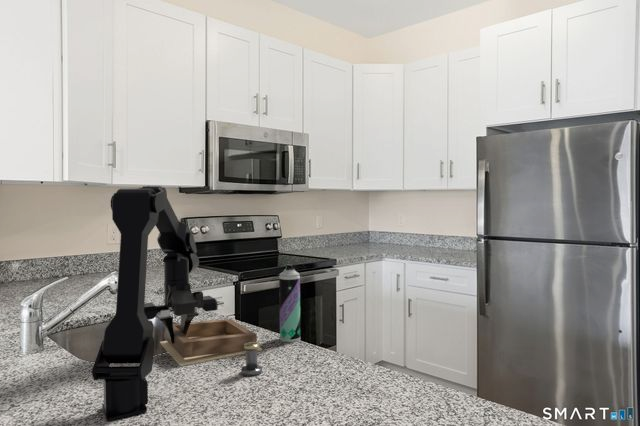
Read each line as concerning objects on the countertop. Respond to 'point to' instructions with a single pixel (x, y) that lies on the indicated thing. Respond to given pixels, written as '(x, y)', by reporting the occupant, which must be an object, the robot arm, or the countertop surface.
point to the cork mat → (198, 359)
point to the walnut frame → (210, 338)
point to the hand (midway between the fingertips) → (177, 342)
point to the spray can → (289, 304)
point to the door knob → (251, 360)
